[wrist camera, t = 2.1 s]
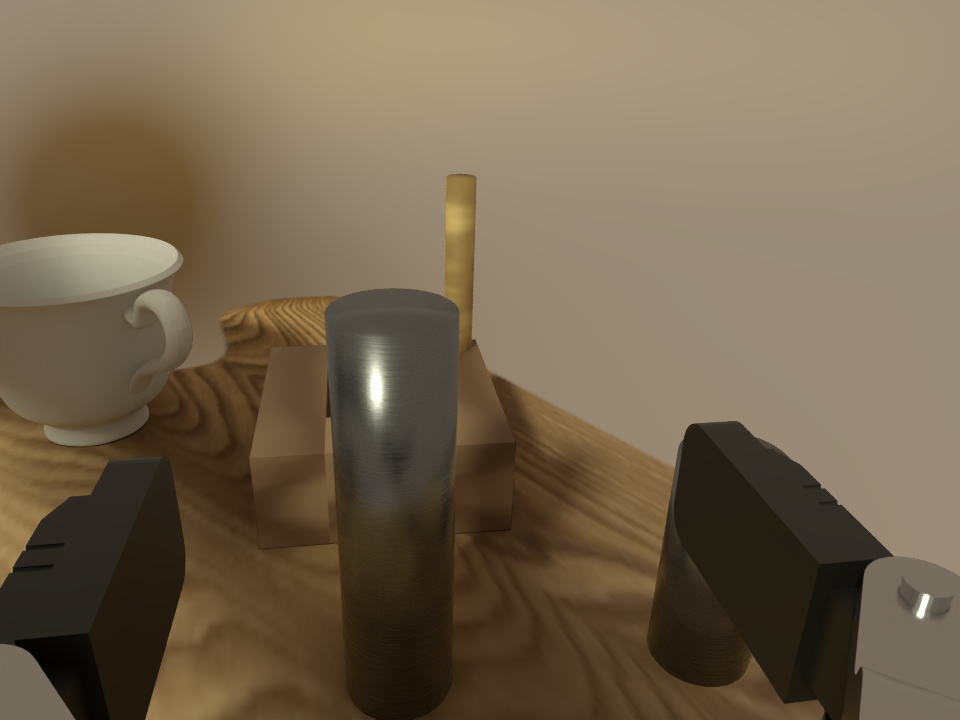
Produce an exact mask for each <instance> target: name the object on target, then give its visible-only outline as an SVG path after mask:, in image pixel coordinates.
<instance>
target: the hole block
mask: <svg viewBox="0 0 960 720" xmlns="http://www.w3.org/2000/svg"><path fill="white" fill-rule="evenodd" d="M446 187H447V188H446V190H447V191H446V264H445V265H446V266H445V298H447V299H449V300H451V301H452V302H454V303H455V304H456V305H457V307H458V308H459V313H460V314H459V360H458V406H457V452H456V498H455V534H456V533H468V532H481V531H494V530H506V529H511V517H512V500H513V484H514V467H515V451H516V441H515V438H514V436H513V433H512V431H511V428H510V426H509V423H508V421H507V418H506V416H505V413H504V411H503V408H502V406H501V403H500V401H499V398H498V396H497V393H496V391H495V388H494V386H493V383H492V380H491V378H490V375H489V373H488V370H487V368H486V365H485V363H484V360H483V358H482V355H481V353H480V350H479V348H478V345H477V343H476V340H472V309H473V276H474V273H473V272H474V241H475V208H476V207H475V206H476V205H475V204H476V177H475V176H473V175H468V174H452V175H448V176H447V185H446ZM249 460H250V469H251V477H252V486H253V495H254V504H255V512H256V521H257V530H258V539H259V547H260V549H265V548H278V547H291V546H303V545H316V544H329V543H338V532H337V515H336V498H335V481H334V464H333V448H332V431H331V414H330V397H329V380H328V363H327V346H326V345H315V346H288V347H271V352H270V357H269V362H268V367H267V372H266V377H265V382H264V387H263V392H262V397H261V402H260V407H259V412H258V417H257V422H256V427H255V432H254V437H253V442H252V447H251V452H250V457H249Z"/></svg>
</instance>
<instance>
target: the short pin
mask: <svg viewBox="0 0 960 720" xmlns="http://www.w3.org/2000/svg"><path fill="white" fill-rule="evenodd" d="M755 438H756V437H755ZM756 439H757V440H758V441H759V442H760V443H761V444H762V445H763V446H764V447H765V448H766V449H773V450H775V451H777V452H778V453H780V454H782V455H784V456H786V457H788V456H787V455H786V454H785V453H784V452H782V451H781V450H780V449H778V448H777V447H775V446H774V445H772V444H770V443H768V442H766V441H764V440H761V439H759V438H756ZM683 441H684V440H683ZM683 441H682V442H681V443H680V445H679V448H678V454H677V461H676V466H675V472H674V478H673V484H672V490H671V496H670V502H669V508H668V514H667V520H666V526H665V532H664V538H663V544H662V550H661V556H660V562H659V568H658V574H657V580H656V586H655V593H654V599H653V605H652V611H651V617H650V623H649V629H648V635H647V642H648V647H649V650H650V652H651V654H652V656H653V657H654V659H655V660H656V661H657V662H658V664H659V665H660V666H661V667H663V668H664V669H665V670H666V671H667V672H669V673H670V674H672V675H673V676H675V677H677V678H679V679H681V680H683V681H685V682H688V683H691V684H695V685H699V686H707V687H718V686H724V685H728V684H730V683H733V682H735V681H736V680H738V679H739V678H740V677H741V676H742V675H743V674H744V673H745V671H746V669H747V666H748V662H749V658H750V654H751V651H750V650H749V648H748V647H747V645H746V644H745V642H744V640H743V639H742V637H741V636H740V634H739V633H738V631H737V629H736V628H735V626H734V625H733V623H732V622H731V620H730V619H729V617H728V615H727V614H726V612H725V611H724V609H723V608H722V606H721V604H720V603H719V601H718V600H717V598H716V597H715V595H714V594H713V592H712V590H711V589H710V587H709V586H708V584H707V583H706V581H705V579H704V578H703V576H702V575H701V573H700V572H699V570H698V569H697V567H696V565H695V564H694V562H693V561H692V559H691V558H690V556H689V555H688V553H687V551H686V550H685V548H684V547H683V545H682V543H681V542H680V539H679V537H678V534H677V531H676V527H675V522H674V500H675V494H676V487H677V480H678V474H679V467H680V461H681V454H682V447H683ZM788 458H789V457H788ZM789 459H790V458H789Z"/></svg>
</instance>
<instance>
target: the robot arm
mask: <svg viewBox="0 0 960 720" xmlns="http://www.w3.org/2000/svg"><path fill="white" fill-rule="evenodd" d="M674 522H675V527H676V531H677V534H678V537H679V539H680V542H681V543H682V545H683V547H684V548H685V550H686V551H687V553H688V555H689V556H690V558H691V559H692V561H693V562H694V564H695V565H696V567H697V569H698V570H699V572H700V573H701V575H702V576H703V578H704V579H705V581H706V583H707V584H708V586H709V587H710V589H711V590H712V592H713V594H714V595H715V597H716V598H717V600H718V601H719V603H720V604H721V606H722V608H723V609H724V611H725V612H726V614H727V615H728V617H729V619H730V620H731V622H732V623H733V625H734V626H735V628H736V629H737V631H738V633H739V634H740V636H741V637H742V639H743V640H744V642H745V644H746V645H747V647H748V648H749V650H750V651H751V653H752V654H753V656H754V658H755V659H756V661H757V662H758V664H759V665H760V667H761V668H762V670H763V672H764V673H765V675H766V676H767V678H768V679H769V681H770V683H771V684H772V686H773V687H774V689H775V690H776V692H777V693H778V695H779V697H780V698H781V700H782V701H783V703H784V704H786V703H794V702H802V701H810V700H817V699H818V700H819V702H820V703H821V705H822V706H823V708H824V709H825V711H824V715H823V718H822V720H960V576H958V575H957V574H955V573H953V572H951V571H949V570H947V569H945V568H943V567H940V566H938V565H936V564H933V563H929V562H927V561H923V560H919V559H915V558H907V557H894V556H893V555H892V554H891V553H890V552H889V551H888V550H887V549H886V548H885V547H884V546H883V545H882V544H881V543H880V542H879V541H878V540H877V539H876V538H875V537H874V536H873V535H872V534H871V533H870V532H869V531H868V530H867V529H866V528H864V526H862V524H860V522H858V521H857V520H856V519H855V518H854V517H853V516H852V515H851V514H850V513H849V512H848V511H847V510H846V509H845V508H844V507H843V506H842V505H838V504H837V500H836V499H835V498H834V497H833V496H832V495H831V494H830V493H829V492H828V491H827V490H826V489H821V484H820V483H819V482H818V481H817V480H816V479H815V478H813V476H812V475H810V473H809V472H808V471H807V470H806V469H804V468H803V467H802V466H801V465H800V464H798V463H797V462H795V461H793V460H791V459H789V458H788V457H786V456H784V455H782V454H780V453H778V452H777V451H775V450H773V449H766V448H765V447H764V446H763V445H762V444H761V443H760V442H759V441H758V440H757V439H756V438H755V437H754V436H753V435H752V434H751V433H750V432H749V431H748V430H747V429H746V428H745V427H744V426H743V425H742V424H741V423H740V422H737V421H728V422H712V423H696V424H691V425H690V426H689V427H688V428H687V430H686V433H685V436H684V441H683V447H682V454H681V461H680V467H679V474H678V480H677V487H676V494H675V500H674ZM184 575H185V545H184V538H183V532H182V526H181V520H180V515H179V509H178V503H177V497H176V491H175V485H174V479H173V474H172V468H171V465H170V462H169V460H168V458H167V457H166V456H159V457H143V458H127V459H112V460H110V461H109V462H108V464H107V465H106V467H105V469H104V471H103V473H102V475H101V477H100V478H99V480H98V482H97V484H96V486H95V488H94V490H93V492H92V494H91V495H88V496H73V497H70V498H68V499H67V500H66V501H65V502H63V503H62V504H61V505H60V506H58V507H57V508H56V509H55V510H53V511H52V512H51V513H50V514H48V515H47V516H46V517H45V518H43V519H42V520H41V521H40V523H39V525H38V526H37V528H36V530H35V531H34V533H33V535H32V536H31V538H30V540H29V541H28V543H27V545H26V551H22V553H21V555H20V556H19V558H18V560H17V561H16V563H15V565H14V566H13V573H9V575H8V576H7V578H6V580H5V581H4V583H3V585H2V586H1V588H0V720H145V718H146V714H147V711H148V707H149V704H150V700H151V697H152V693H153V690H154V686H155V683H156V679H157V676H158V672H159V668H160V665H161V661H162V658H163V654H164V651H165V647H166V644H167V640H168V637H169V633H170V630H171V626H172V623H173V619H174V615H175V612H176V608H177V605H178V601H179V598H180V594H181V591H182V587H183V582H184Z"/></svg>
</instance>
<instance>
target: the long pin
mask: <svg viewBox="0 0 960 720" xmlns="http://www.w3.org/2000/svg"><path fill="white" fill-rule="evenodd" d="M459 314H460V313H459V308H458V307H457V305H456V304H455V303H454V302H452V301H451V300H449V299H447V298H445V297H443V296H440V295H437V294H434V293H430V292H426V291H420V290H412V289H393V288H392V289H375V290H368V291H361V292H357V293H353V294H349V295H346V296H343V297H341V298H339V299H337V300H335V301H333V302H332V303H331V304H329V305H328V307H327V308H326V310H325V329H326V346H327V363H328V380H329V397H330V414H331V431H332V448H333V464H334V481H335V498H336V515H337V532H338V549H339V566H340V583H341V600H342V617H343V634H344V650H345V667H346V684H347V690H348V694H349V696H350V698H351V700H352V701H353V703H354V704H355V705H356V706H357V707H358V708H359V709H360V710H361V711H363V712H364V713H366V714H367V715H369V716H372V717H374V718H377V719H380V720H411V719H415V718H417V717H420V716H423V715H425V714H427V713H428V712H430V711H431V710H433V709H434V708H435V707H437V706H438V705H439V704H440V703H441V702H442V700H443V699H444V698H445V696H446V695H447V693H448V691H449V688H450V685H451V679H452V636H453V590H454V544H455V498H456V452H457V406H458V360H459Z"/></svg>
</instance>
